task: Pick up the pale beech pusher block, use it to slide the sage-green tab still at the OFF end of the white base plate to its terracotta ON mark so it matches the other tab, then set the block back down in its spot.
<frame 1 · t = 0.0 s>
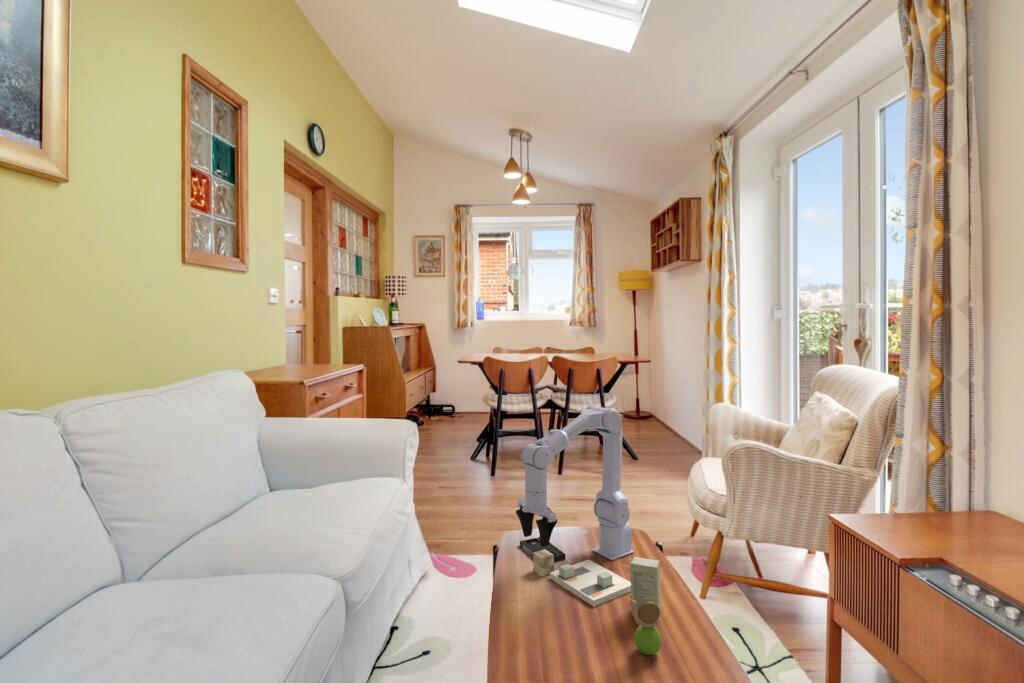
hand: (536, 540, 133), 10 cm above the table, fingers open, 7 cm apart
skincare box: (646, 614, 116), on the table
tab b: (566, 571, 131), point 3 cm above the table, slide at 5.0 cm
vhs tape: (541, 554, 149), on the table
tab a: (604, 579, 126), point 3 cm above the table, slide at 0.0 cm
white base plate: (591, 584, 130), on the table
snail figurine: (645, 653, 102), on the table
pusher block: (543, 571, 137), on the table
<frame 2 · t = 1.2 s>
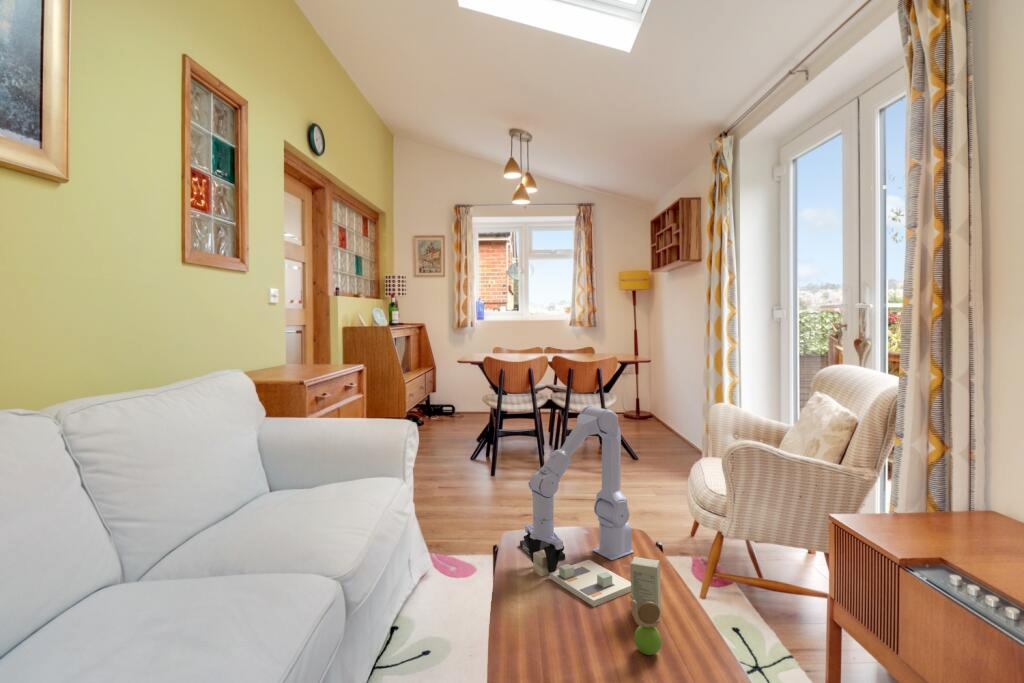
hand: (543, 566, 137), 1 cm above the table, fingers open, 7 cm apart
nothing on the table moved.
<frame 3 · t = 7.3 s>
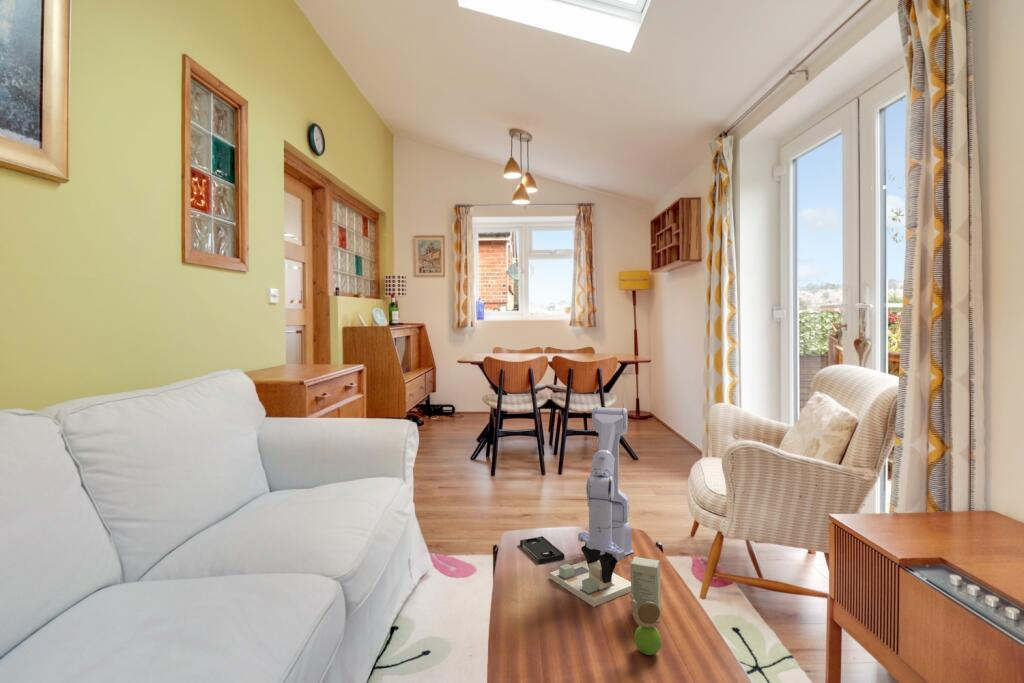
hand: (600, 578, 126), 4 cm above the table, fingers closed on pusher block, 4 cm apart
tab a: (589, 585, 124), point 3 cm above the table, slide at 5.0 cm, touching pusher block
pusher block: (600, 584, 125), point 2 cm above the table, touching gripper, tab a
everything else where it was.
when the fingers open (2 cm above the table, at t = 11.3 s): pusher block stays where it is, on the table.
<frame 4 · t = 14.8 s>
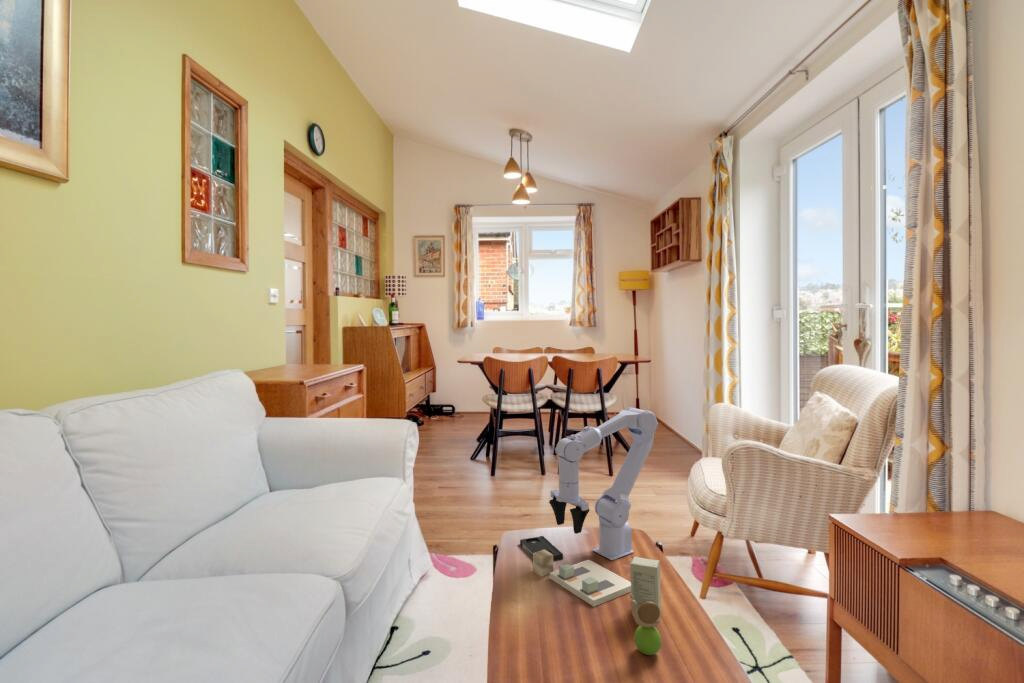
hand: (568, 528, 143), 9 cm above the table, fingers open, 7 cm apart
tab a: (589, 585, 124), point 3 cm above the table, slide at 5.0 cm
pusher block: (543, 571, 137), on the table
everything else where it was.
at the end: tab a slide at 5.0 cm; tab b slide at 5.0 cm; pusher block inside the target area (0.1 cm from its centre), on the table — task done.
